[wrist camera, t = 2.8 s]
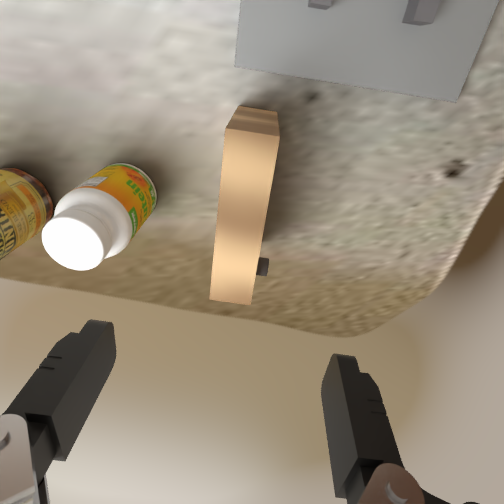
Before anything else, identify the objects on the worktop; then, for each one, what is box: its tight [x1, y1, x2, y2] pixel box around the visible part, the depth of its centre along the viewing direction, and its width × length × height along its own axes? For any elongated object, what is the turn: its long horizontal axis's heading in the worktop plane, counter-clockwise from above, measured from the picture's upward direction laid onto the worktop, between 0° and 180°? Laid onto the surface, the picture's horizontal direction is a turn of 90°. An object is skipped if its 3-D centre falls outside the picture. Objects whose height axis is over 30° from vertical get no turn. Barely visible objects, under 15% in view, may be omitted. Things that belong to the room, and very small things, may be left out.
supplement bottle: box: [42, 163, 157, 270], centre depth 26 cm, size 5×5×10 cm
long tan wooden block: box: [210, 106, 280, 305], centre depth 25 cm, size 12×4×9 cm, turn 172°
